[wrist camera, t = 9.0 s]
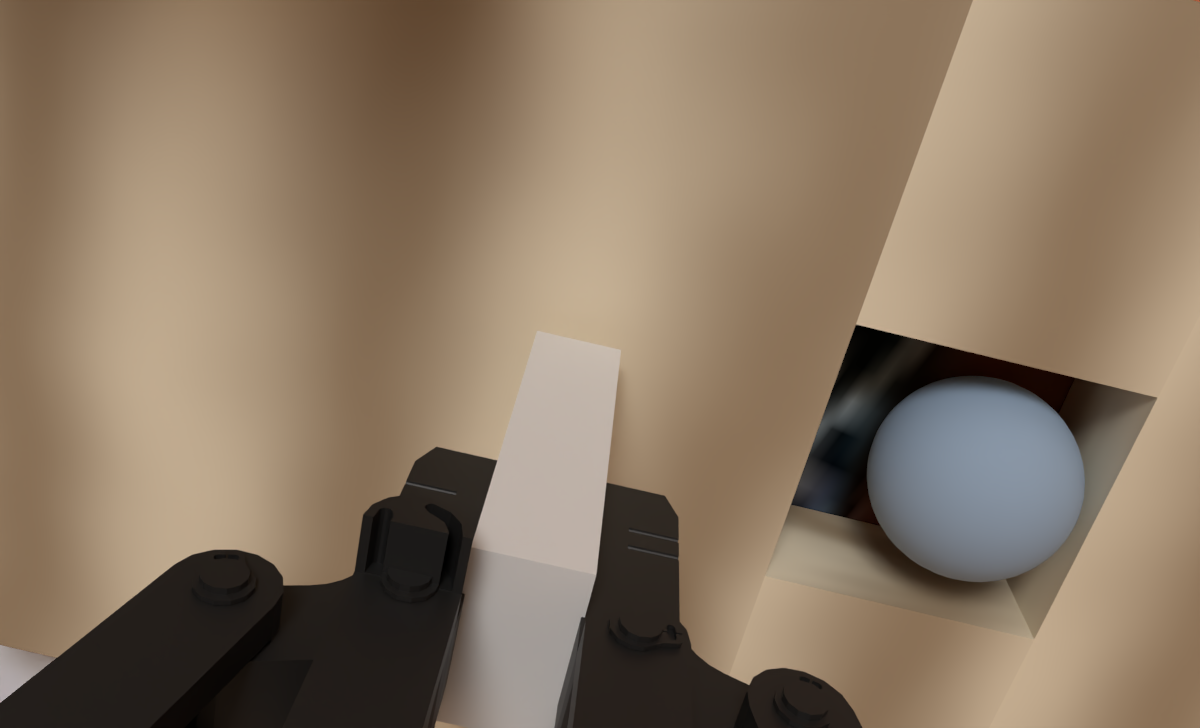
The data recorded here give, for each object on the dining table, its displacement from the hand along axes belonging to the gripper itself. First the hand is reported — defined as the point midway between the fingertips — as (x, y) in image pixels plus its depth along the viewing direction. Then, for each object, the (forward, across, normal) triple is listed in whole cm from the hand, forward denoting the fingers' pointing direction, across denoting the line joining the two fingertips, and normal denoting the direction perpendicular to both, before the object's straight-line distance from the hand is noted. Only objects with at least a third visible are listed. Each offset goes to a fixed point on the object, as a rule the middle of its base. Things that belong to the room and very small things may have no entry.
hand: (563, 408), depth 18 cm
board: (+4, +1, 0) cm, 4 cm away
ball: (+2, +8, 0) cm, 8 cm away
